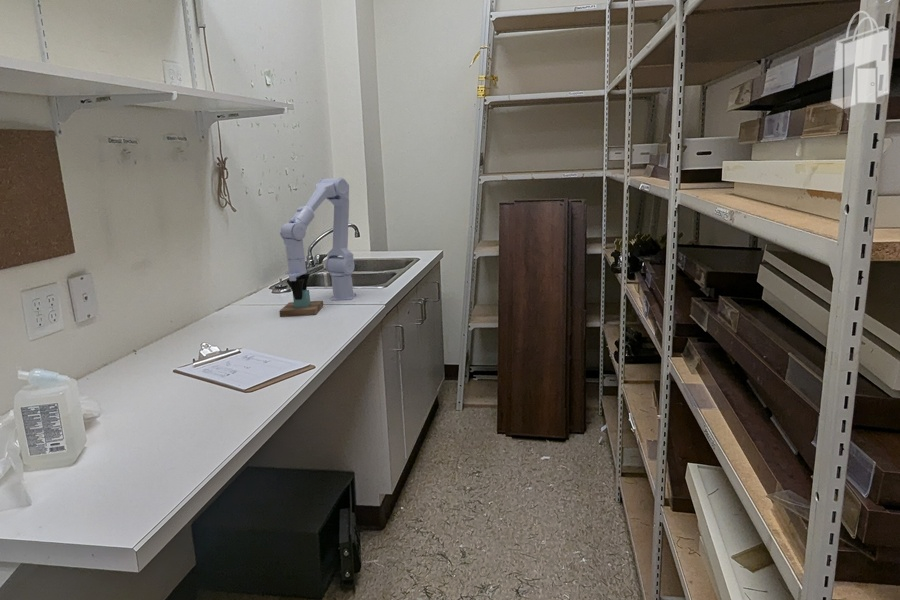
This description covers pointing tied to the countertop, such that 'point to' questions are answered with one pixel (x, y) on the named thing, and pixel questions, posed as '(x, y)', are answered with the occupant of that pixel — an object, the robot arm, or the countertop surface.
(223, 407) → the countertop surface
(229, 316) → the countertop surface
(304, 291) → the teal block
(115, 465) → the countertop surface
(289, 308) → the walnut plinth
